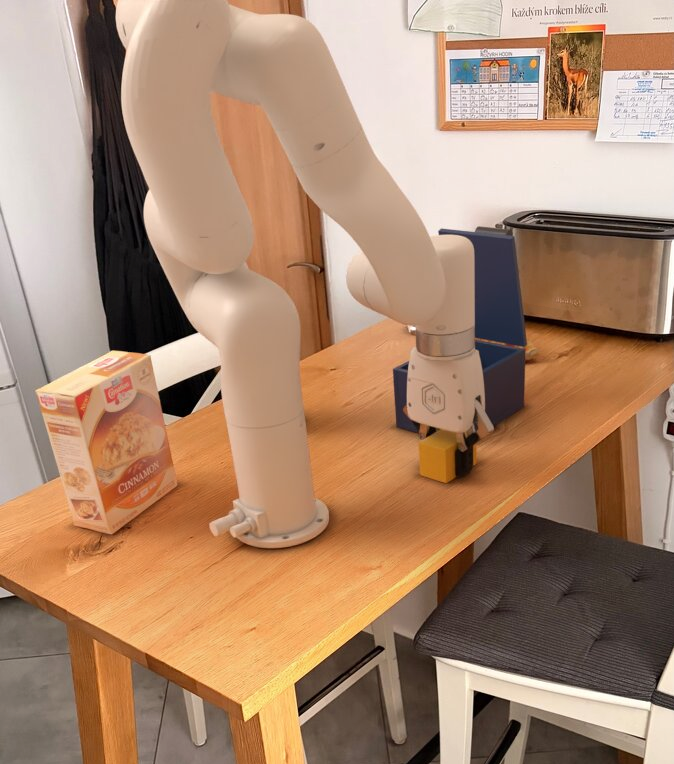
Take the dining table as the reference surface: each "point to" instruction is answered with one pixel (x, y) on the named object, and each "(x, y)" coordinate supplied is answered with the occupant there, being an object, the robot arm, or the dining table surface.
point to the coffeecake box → (109, 439)
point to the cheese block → (440, 456)
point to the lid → (496, 285)
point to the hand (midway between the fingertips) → (448, 467)
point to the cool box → (500, 383)
